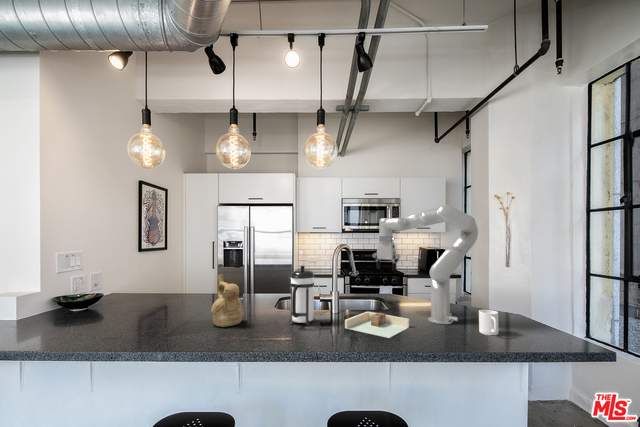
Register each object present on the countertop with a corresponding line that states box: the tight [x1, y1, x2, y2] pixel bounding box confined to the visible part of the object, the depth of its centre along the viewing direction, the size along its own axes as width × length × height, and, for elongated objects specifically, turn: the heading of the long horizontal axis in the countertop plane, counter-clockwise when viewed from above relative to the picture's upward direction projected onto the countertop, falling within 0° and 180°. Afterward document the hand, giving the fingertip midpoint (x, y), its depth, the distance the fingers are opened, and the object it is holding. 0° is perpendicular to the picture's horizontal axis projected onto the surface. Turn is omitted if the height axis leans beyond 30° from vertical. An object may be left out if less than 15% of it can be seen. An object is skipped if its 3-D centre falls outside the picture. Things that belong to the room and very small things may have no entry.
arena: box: [344, 311, 410, 339], centre depth 169 cm, size 24×22×4 cm
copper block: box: [371, 312, 387, 327], centre depth 174 cm, size 8×4×5 cm, turn 142°
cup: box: [478, 309, 499, 336], centre depth 161 cm, size 8×12×10 cm
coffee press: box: [288, 265, 316, 327], centre depth 178 cm, size 17×16×30 cm
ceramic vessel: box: [210, 273, 244, 328], centre depth 177 cm, size 17×20×25 cm
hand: (386, 269), depth 194 cm, fingers open, 9 cm apart
